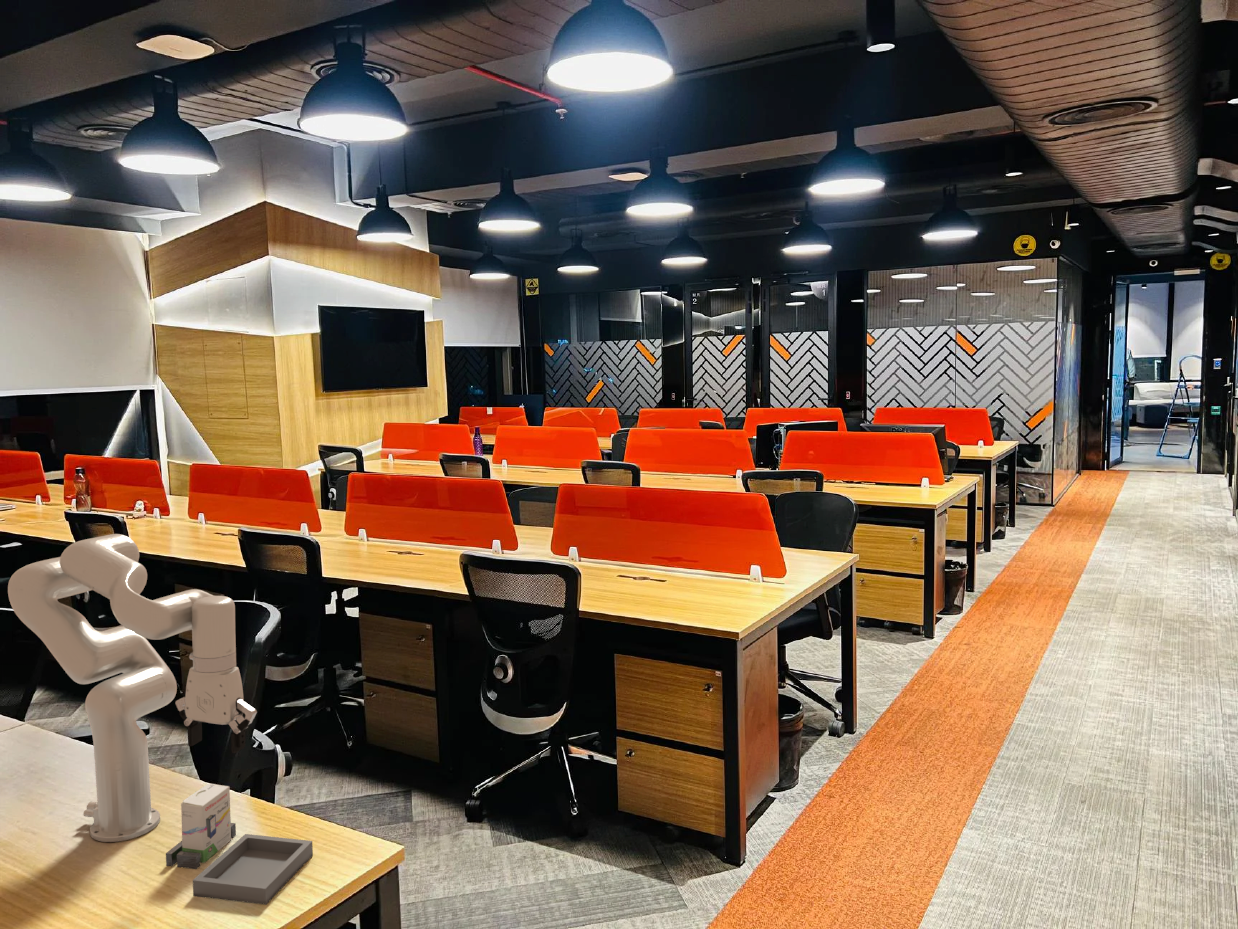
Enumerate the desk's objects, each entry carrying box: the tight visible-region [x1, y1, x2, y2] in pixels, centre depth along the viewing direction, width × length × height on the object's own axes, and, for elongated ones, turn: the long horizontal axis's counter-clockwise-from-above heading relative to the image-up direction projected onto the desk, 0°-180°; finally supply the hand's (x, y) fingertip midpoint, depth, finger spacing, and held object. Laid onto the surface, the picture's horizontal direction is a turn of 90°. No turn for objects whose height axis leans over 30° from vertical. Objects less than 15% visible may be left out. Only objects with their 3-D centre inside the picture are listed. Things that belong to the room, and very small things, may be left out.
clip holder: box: [165, 822, 237, 870], centre depth 175 cm, size 6×13×2 cm, turn 170°
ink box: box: [180, 783, 232, 864], centre depth 175 cm, size 9×5×12 cm, turn 168°
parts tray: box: [192, 833, 314, 906], centre depth 167 cm, size 14×16×3 cm
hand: (216, 747), depth 173 cm, fingers open, 9 cm apart
